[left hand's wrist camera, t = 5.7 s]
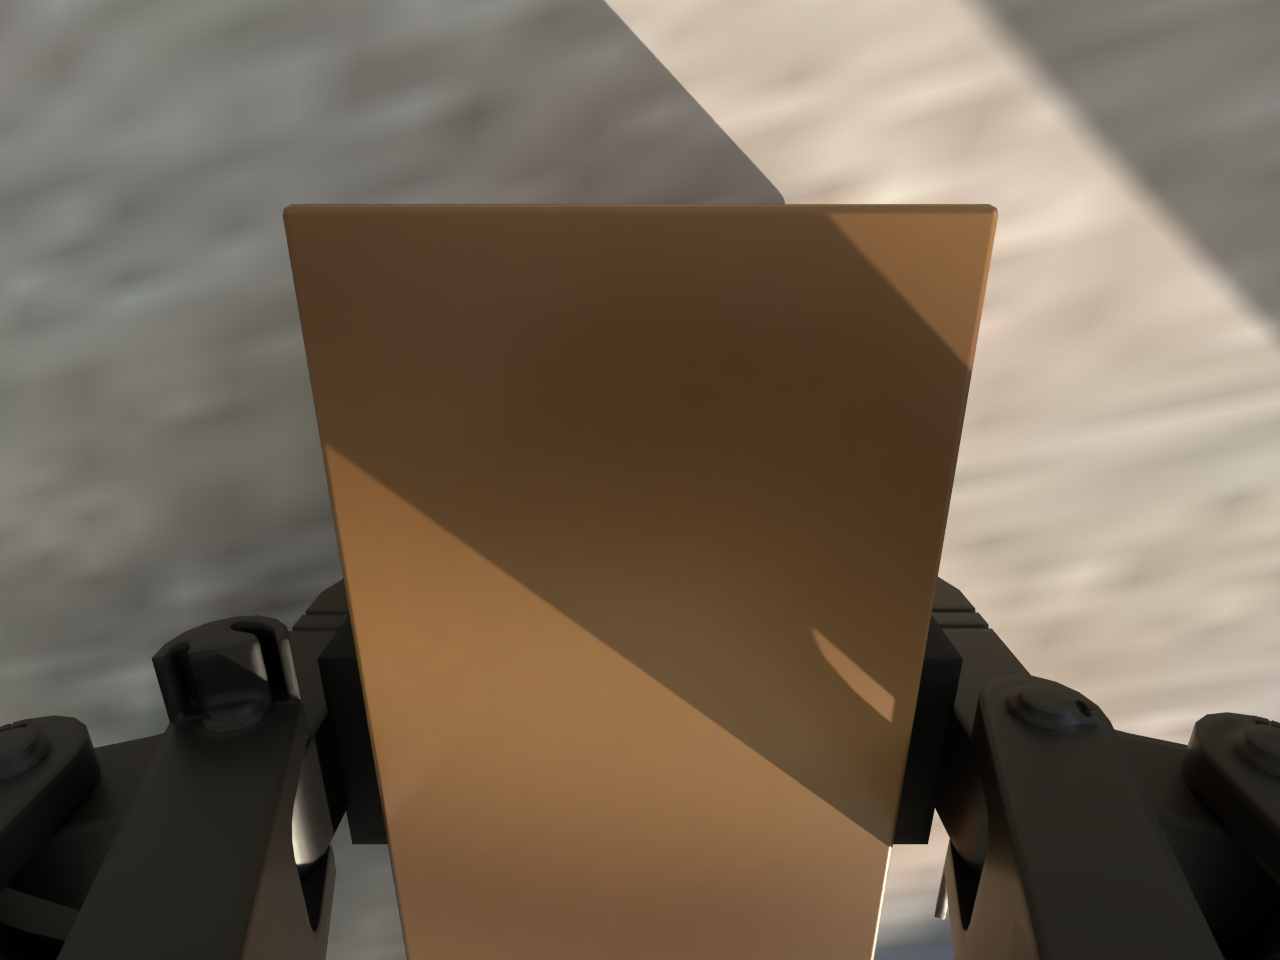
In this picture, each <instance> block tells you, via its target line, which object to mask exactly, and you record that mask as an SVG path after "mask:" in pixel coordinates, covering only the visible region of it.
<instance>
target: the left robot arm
mask: <svg viewBox="0 0 1280 960" xmlns="http://www.w3.org/2000/svg"><path fill="white" fill-rule="evenodd" d="M152 661H153V665H154V668H155V672H156V675H157V679H158V682H159V686H160V689H161V692H162V696H163V699H164V703H165V706H166V710H167V713H168V717H169V720H170V723H169V725H168V727H167V729H166V732H165V733H163V734H159V735H155V736H151V737H146V738H142V739H137V740H132V741H127V742H122V743H117V744H112V745H107V746H102V747H98V748H93V745H92V742H91V739H90V736H89V733H88V730H87V727H86V725H84V724H83V723H81V722H80V721H79V720H77V719H76V718H72V717H63V716H47V717H40V718H33V719H26V720H21V721H17V722H14V723H13V724H11V725H10V724H7V725H4V726H1V727H0V960H325V958H326V950H327V942H328V933H329V925H330V917H331V908H332V900H333V892H334V883H335V875H336V868H335V861H334V854H333V849H332V845H331V840H332V838H333V836H334V834H335V832H336V829H337V827H338V825H339V823H340V821H341V819H342V817H343V815H344V813H345V811H346V812H347V817H348V823H349V828H350V833H351V838H352V844H388V842H387V836H386V830H385V824H384V818H383V812H382V806H381V800H380V794H379V788H378V782H377V776H376V770H375V764H374V758H373V752H372V746H371V740H370V734H369V728H368V722H367V716H366V710H365V704H364V698H363V692H362V686H361V680H360V674H359V668H358V662H357V656H356V650H355V644H354V638H353V632H352V626H351V620H350V614H349V608H348V602H347V596H346V590H345V584H344V579H342V580H341V581H339V582H337V583H336V584H334V585H333V586H331V587H329V588H328V589H326V590H324V591H323V592H321V594H320V595H319V596H318V597H317V598H316V600H315V601H314V602H313V603H312V604H311V606H310V607H309V608H308V609H307V610H306V615H302V616H301V618H300V619H299V620H298V621H297V622H296V624H295V625H294V626H293V630H292V631H289V632H288V629H287V627H286V626H285V625H284V624H282V623H281V622H280V621H278V620H277V619H273V618H268V617H263V616H240V617H232V618H227V619H223V620H218V621H213V622H209V623H207V624H204V625H202V626H199V627H196V628H194V629H191V630H189V631H186V632H184V633H183V634H181V635H179V636H178V637H176V638H174V639H173V640H171V641H169V642H168V643H166V644H165V645H164V646H163V647H162V648H161V649H160V650H159V651H158V652H157V653H156V654H155V655H154V656H153V657H152ZM934 809H936V811H937V813H938V815H939V817H940V819H941V821H942V823H943V825H944V827H945V829H946V831H947V833H948V835H949V837H950V840H949V845H948V849H947V854H946V859H945V864H944V869H943V874H942V879H941V884H940V889H939V894H938V898H937V904H936V911H935V917H937V918H941V919H945V914H946V910H947V905H948V907H949V915H950V923H951V932H952V940H953V948H954V956H955V960H1280V723H1279V722H1276V721H1273V720H1272V721H1269V720H1268V719H1266V718H1261V717H1257V716H1250V715H1243V714H1236V713H1228V712H1226V713H1217V714H1208V715H1206V716H1204V717H1203V718H1201V719H1200V720H1199V721H1197V722H1196V723H1195V726H1194V729H1193V732H1192V735H1191V738H1190V741H1189V744H1188V745H1184V744H1179V743H1174V742H1169V741H1164V740H1159V739H1154V738H1149V737H1145V736H1140V735H1135V734H1130V733H1126V732H1122V731H1118V730H1114V728H1113V726H1112V724H1111V722H1110V720H1109V719H1108V718H1107V717H1106V715H1105V714H1104V713H1103V711H1102V710H1101V709H1100V708H1099V706H1098V705H1096V704H1095V703H1093V702H1092V701H1091V700H1089V699H1088V698H1086V697H1085V696H1083V695H1082V694H1081V693H1079V692H1077V691H1075V690H1073V689H1071V688H1068V687H1066V686H1064V685H1062V684H1060V683H1057V682H1055V681H1051V680H1047V679H1043V678H1039V677H1035V676H1031V675H1030V674H1029V672H1028V671H1027V670H1026V669H1025V668H1024V666H1023V665H1022V664H1021V663H1020V662H1019V661H1018V659H1017V658H1016V657H1015V656H1014V655H1013V653H1012V652H1011V651H1010V650H1009V649H1008V647H1007V646H1006V645H1005V644H1004V643H1003V641H1002V640H1001V639H1000V638H999V637H998V635H997V634H996V633H995V632H994V631H993V630H992V629H989V627H988V624H987V622H986V621H985V620H984V619H983V618H982V616H981V615H980V614H979V613H975V608H974V607H973V606H972V604H971V603H970V602H969V601H968V600H967V598H966V597H965V596H964V595H963V594H962V593H961V591H960V590H959V589H957V588H955V587H954V586H952V585H950V584H949V583H947V582H946V581H944V580H942V579H941V578H939V577H937V583H936V589H935V595H934V601H933V607H932V613H931V619H930V625H929V631H928V637H927V643H926V649H925V655H924V661H923V667H922V673H921V679H920V685H919V691H918V696H917V702H916V708H915V714H914V720H913V726H912V732H911V738H910V744H909V750H908V756H907V762H906V768H905V774H904V780H903V786H902V792H901V798H900V804H899V810H898V816H897V822H896V828H895V834H894V840H893V844H928V841H929V836H930V830H931V825H932V820H933V815H934Z"/></svg>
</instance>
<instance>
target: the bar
mask: <svg viewBox="0 0 1280 960" xmlns="http://www.w3.org/2000/svg"><path fill="white" fill-rule="evenodd" d="M997 218H998V212H997V208H996V207H994V206H992V205H990V204H291V205H289V206H287V207H285V208H284V212H283V219H284V225H285V231H286V237H287V243H288V249H289V255H290V261H291V267H292V273H293V278H294V284H295V290H296V296H297V302H298V308H299V314H300V320H301V326H302V332H303V338H304V344H305V350H306V356H307V362H308V368H309V374H310V380H311V386H312V392H313V398H314V404H315V410H316V416H317V422H318V428H319V434H320V440H321V446H322V452H323V458H324V464H325V470H326V476H327V482H328V488H329V494H330V500H331V506H332V512H333V518H334V524H335V530H336V536H337V542H338V548H339V554H340V560H341V566H342V572H343V578H344V584H345V590H346V596H347V602H348V608H349V614H350V620H351V626H352V632H353V638H354V644H355V650H356V656H357V662H358V668H359V674H360V680H361V686H362V692H363V698H364V704H365V710H366V716H367V722H368V728H369V734H370V740H371V746H372V752H373V758H374V764H375V770H376V776H377V782H378V788H379V794H380V800H381V806H382V812H383V818H384V824H385V830H386V836H387V842H388V848H389V854H390V860H391V866H392V872H393V878H394V884H395V890H396V896H397V902H398V908H399V914H400V920H401V926H402V932H403V938H404V944H405V950H406V956H407V960H873V959H874V954H875V948H876V942H877V936H878V930H879V924H880V918H881V912H882V906H883V900H884V894H885V888H886V882H887V876H888V870H889V864H890V858H891V852H892V846H893V840H894V834H895V828H896V822H897V816H898V810H899V804H900V798H901V792H902V786H903V780H904V774H905V768H906V762H907V756H908V750H909V744H910V738H911V732H912V726H913V720H914V714H915V708H916V702H917V696H918V691H919V685H920V679H921V673H922V667H923V661H924V655H925V649H926V643H927V637H928V631H929V625H930V619H931V613H932V607H933V601H934V595H935V589H936V583H937V577H938V571H939V565H940V559H941V553H942V547H943V541H944V535H945V529H946V523H947V517H948V511H949V505H950V499H951V493H952V487H953V481H954V475H955V469H956V463H957V457H958V451H959V445H960V439H961V433H962V427H963V422H964V416H965V410H966V404H967V398H968V392H969V386H970V380H971V374H972V368H973V362H974V356H975V350H976V344H977V338H978V332H979V326H980V320H981V314H982V308H983V302H984V296H985V290H986V284H987V278H988V272H989V266H990V260H991V254H992V248H993V242H994V236H995V230H996V224H997Z"/></svg>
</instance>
